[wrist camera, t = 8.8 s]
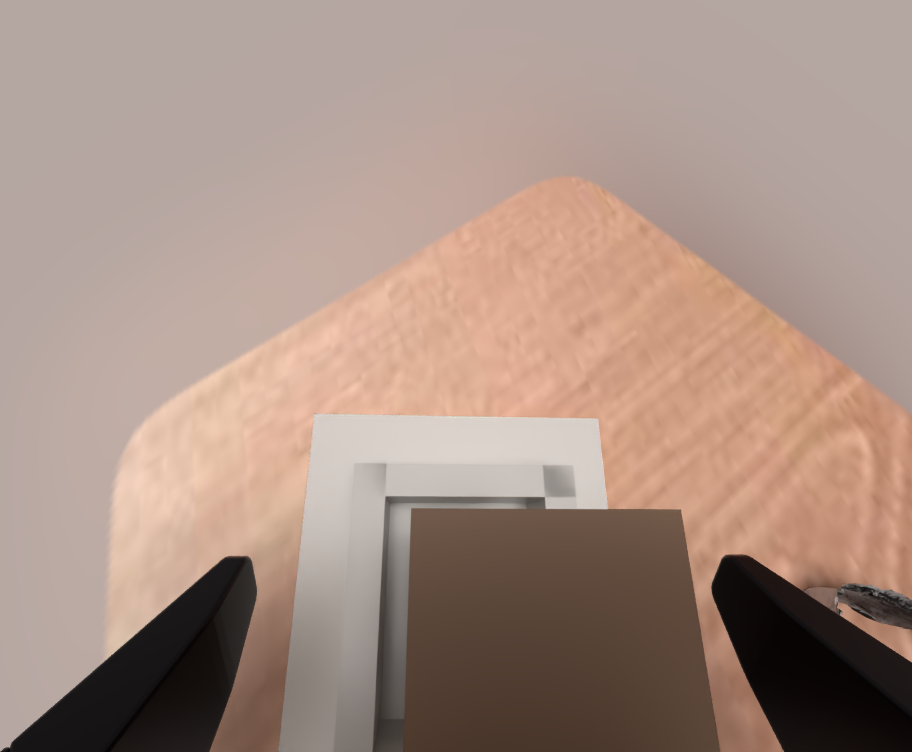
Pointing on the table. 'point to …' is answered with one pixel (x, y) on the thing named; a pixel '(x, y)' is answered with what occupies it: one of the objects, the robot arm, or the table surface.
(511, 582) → the walnut block
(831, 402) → the table surface
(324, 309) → the table surface
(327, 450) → the white recessed tray
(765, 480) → the table surface
